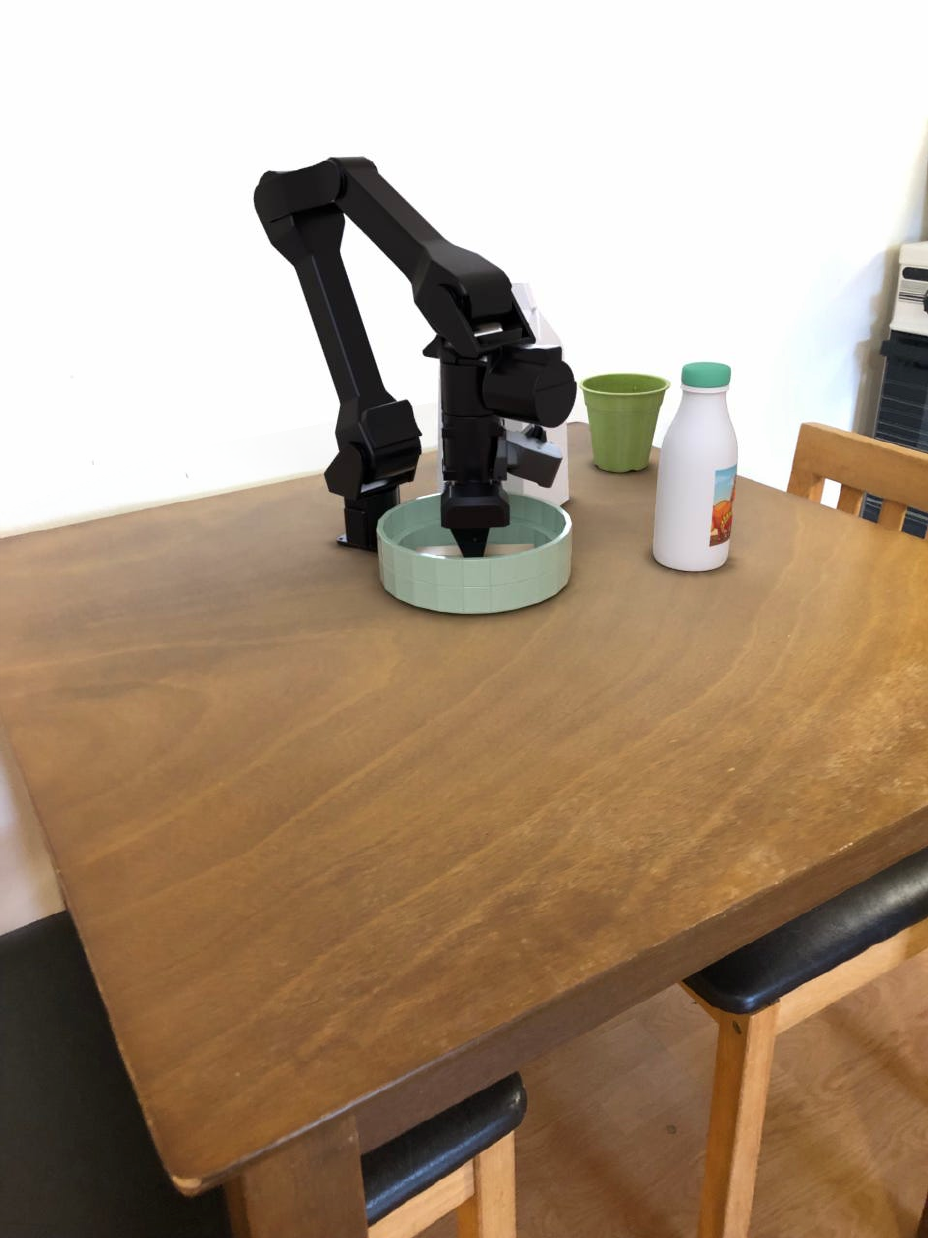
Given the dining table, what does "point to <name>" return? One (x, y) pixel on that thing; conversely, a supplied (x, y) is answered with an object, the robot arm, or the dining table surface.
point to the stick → (489, 552)
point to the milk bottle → (697, 474)
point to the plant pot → (623, 417)
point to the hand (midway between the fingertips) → (474, 562)
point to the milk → (556, 435)
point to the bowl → (481, 578)
